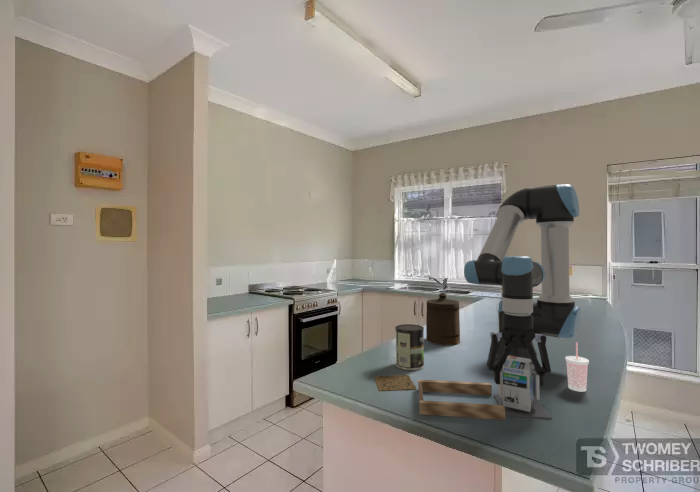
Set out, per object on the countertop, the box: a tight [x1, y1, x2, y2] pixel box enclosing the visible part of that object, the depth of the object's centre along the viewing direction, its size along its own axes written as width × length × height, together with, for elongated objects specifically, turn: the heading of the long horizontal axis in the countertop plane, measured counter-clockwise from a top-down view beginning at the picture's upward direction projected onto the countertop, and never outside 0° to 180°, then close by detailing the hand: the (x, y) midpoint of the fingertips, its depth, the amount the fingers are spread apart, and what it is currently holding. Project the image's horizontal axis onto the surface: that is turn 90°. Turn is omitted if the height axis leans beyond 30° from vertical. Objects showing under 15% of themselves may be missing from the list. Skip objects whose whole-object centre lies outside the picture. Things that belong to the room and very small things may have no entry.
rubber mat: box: [493, 394, 552, 420], centre depth 95 cm, size 11×12×1 cm
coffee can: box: [395, 323, 425, 371], centre depth 128 cm, size 10×10×14 cm
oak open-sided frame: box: [417, 378, 506, 421], centre depth 98 cm, size 21×16×3 cm
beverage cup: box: [565, 341, 590, 393], centre depth 106 cm, size 6×6×14 cm
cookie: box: [373, 374, 418, 392], centre depth 112 cm, size 12×12×1 cm
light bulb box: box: [502, 355, 534, 412], centre depth 95 cm, size 11×7×11 cm, turn 149°
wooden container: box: [425, 292, 461, 346], centre depth 160 cm, size 15×15×22 cm
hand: (518, 396), depth 95 cm, fingers closed on light bulb box, 8 cm apart
